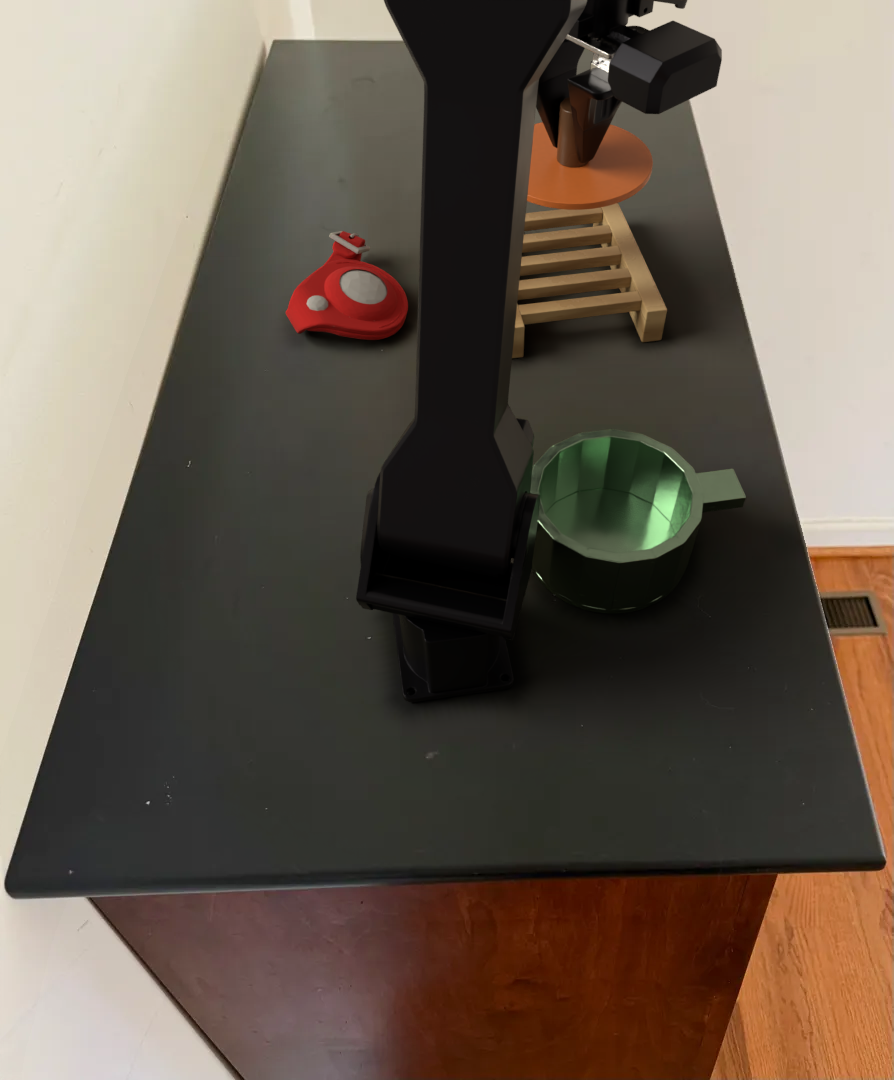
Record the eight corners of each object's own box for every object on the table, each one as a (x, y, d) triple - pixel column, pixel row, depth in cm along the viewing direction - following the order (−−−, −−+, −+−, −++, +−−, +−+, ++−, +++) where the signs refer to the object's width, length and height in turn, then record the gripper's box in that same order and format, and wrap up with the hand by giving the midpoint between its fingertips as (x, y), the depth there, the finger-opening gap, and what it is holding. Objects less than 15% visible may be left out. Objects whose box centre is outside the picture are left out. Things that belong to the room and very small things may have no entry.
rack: (661, 340, 71) (667, 309, 69) (503, 359, 70) (503, 329, 68) (610, 224, 81) (614, 193, 78) (470, 240, 80) (470, 209, 78)
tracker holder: (434, 311, 72) (324, 334, 67) (419, 350, 76) (313, 375, 71) (363, 209, 76) (254, 224, 72) (352, 251, 80) (247, 267, 75)
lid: (670, 207, 64) (682, 137, 60) (510, 226, 63) (511, 156, 59) (627, 125, 70) (635, 57, 66) (482, 141, 70) (482, 74, 66)
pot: (750, 595, 56) (773, 541, 52) (499, 630, 55) (501, 578, 51) (698, 472, 63) (714, 414, 58) (472, 502, 62) (471, 446, 57)
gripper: (812, -93, 51) (749, 165, 64) (584, -167, 61) (567, 71, 73) (675, -38, 47) (636, 226, 60) (453, -126, 57) (459, 118, 69)
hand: (573, 153), depth 65 cm, fingers closed on lid, 2 cm apart
